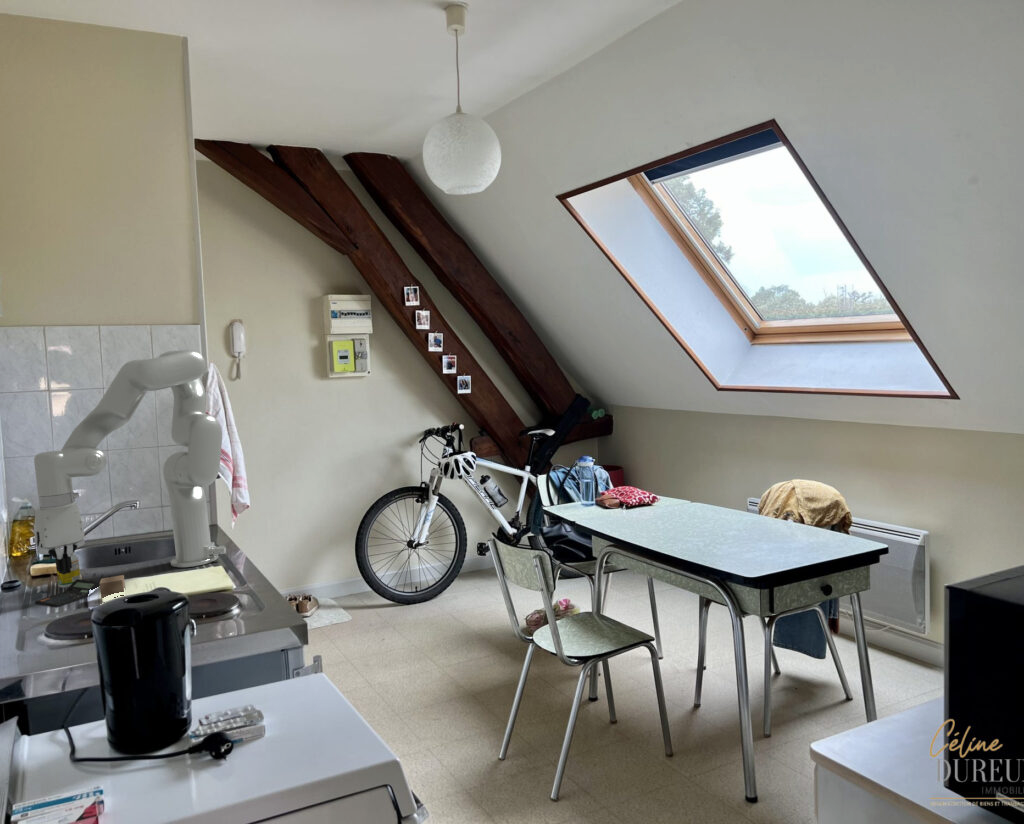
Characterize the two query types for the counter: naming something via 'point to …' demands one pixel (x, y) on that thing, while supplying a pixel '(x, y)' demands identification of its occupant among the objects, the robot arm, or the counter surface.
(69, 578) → the supplement bottle
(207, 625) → the counter surface
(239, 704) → the counter surface
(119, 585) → the walnut block
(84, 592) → the calculator
